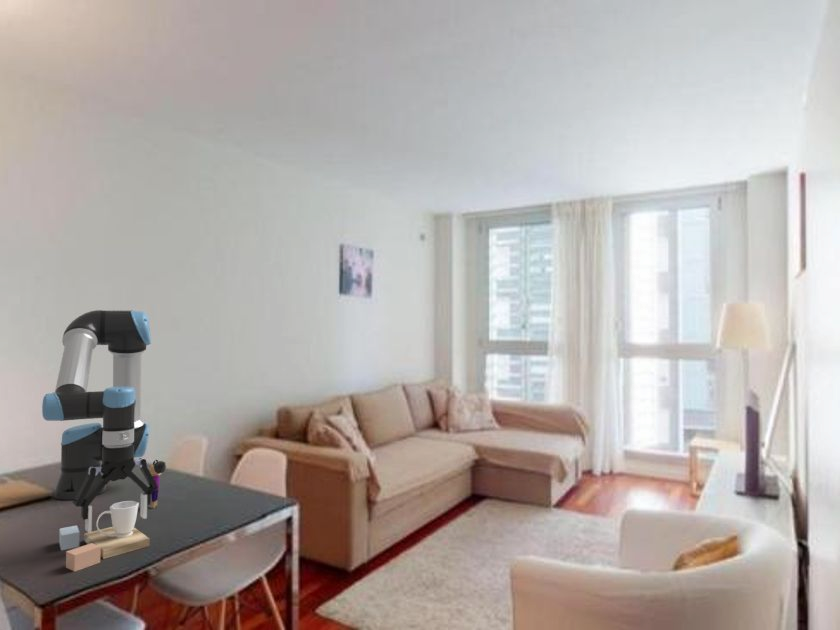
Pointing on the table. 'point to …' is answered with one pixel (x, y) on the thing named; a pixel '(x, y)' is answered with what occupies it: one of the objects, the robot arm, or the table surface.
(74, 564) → the terracotta brick
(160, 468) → the toy
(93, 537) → the oak board
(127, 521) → the cup
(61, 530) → the slate brick
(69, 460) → the robot arm
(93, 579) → the table surface
